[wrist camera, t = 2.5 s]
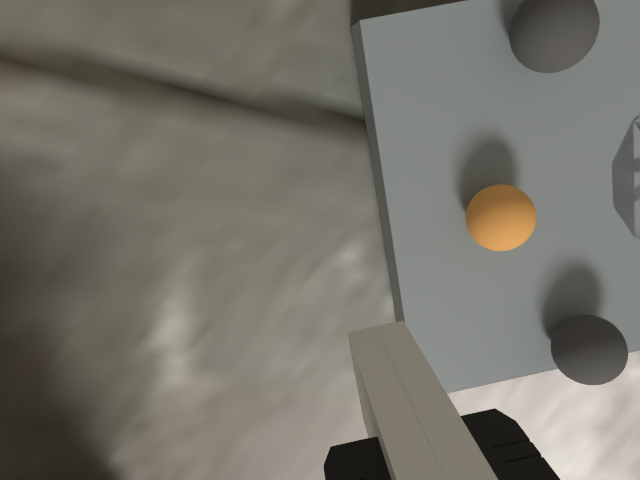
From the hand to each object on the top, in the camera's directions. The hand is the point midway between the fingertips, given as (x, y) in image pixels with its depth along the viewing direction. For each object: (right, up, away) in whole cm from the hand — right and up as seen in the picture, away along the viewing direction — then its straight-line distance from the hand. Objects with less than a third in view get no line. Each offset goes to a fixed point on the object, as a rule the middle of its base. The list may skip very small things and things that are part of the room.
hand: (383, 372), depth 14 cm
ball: (+7, +5, +11) cm, 14 cm away
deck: (+12, +7, +15) cm, 21 cm away
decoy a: (+8, +13, +9) cm, 18 cm away
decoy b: (+12, -2, +13) cm, 18 cm away
